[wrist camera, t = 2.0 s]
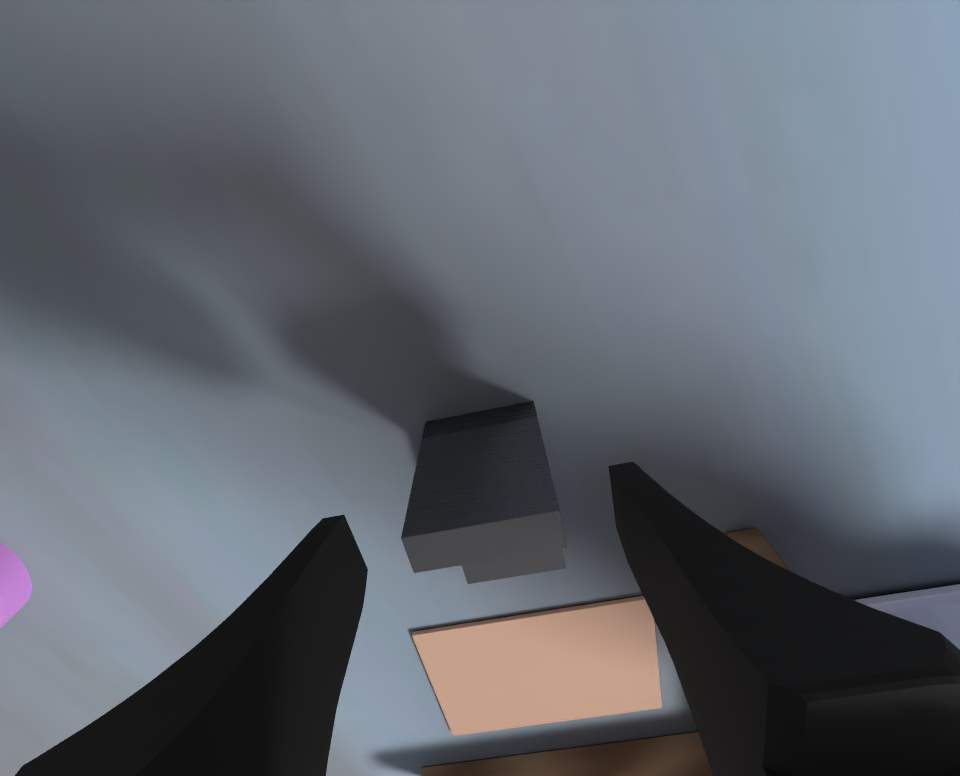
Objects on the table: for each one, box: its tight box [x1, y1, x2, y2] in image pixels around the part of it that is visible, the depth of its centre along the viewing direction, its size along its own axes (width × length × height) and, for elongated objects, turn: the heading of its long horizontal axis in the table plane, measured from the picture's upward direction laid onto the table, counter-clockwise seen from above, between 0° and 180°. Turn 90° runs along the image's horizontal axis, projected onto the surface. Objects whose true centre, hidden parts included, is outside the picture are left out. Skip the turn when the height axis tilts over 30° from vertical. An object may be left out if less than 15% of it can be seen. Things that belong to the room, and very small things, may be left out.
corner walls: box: [422, 528, 790, 776], centre depth 22 cm, size 18×15×3 cm
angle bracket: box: [401, 401, 566, 584], centre depth 16 cm, size 7×4×6 cm, turn 12°
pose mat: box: [412, 596, 662, 736], centre depth 23 cm, size 11×8×1 cm
